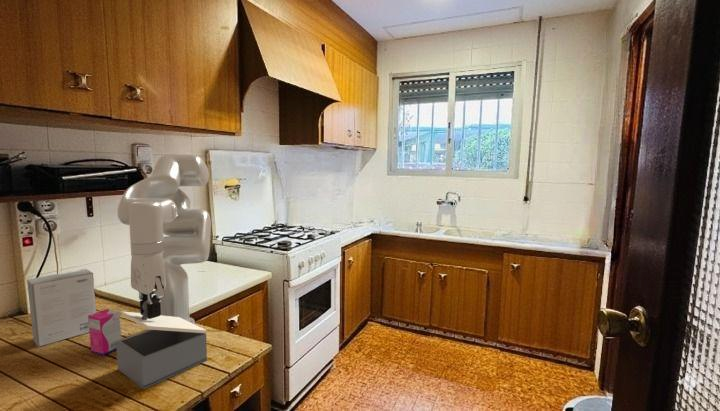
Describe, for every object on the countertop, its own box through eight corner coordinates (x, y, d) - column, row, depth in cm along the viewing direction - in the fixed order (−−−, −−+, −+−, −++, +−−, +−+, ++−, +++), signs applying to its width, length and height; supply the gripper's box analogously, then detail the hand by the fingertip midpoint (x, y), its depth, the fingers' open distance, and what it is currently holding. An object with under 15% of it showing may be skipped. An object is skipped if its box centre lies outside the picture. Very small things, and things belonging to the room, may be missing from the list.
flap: (120, 314, 98) (129, 292, 99) (178, 319, 111) (185, 300, 113) (147, 329, 89) (156, 304, 91) (206, 333, 103) (213, 312, 104)
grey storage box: (117, 369, 98) (116, 341, 97) (179, 344, 112) (178, 320, 111) (143, 389, 90) (142, 358, 89) (206, 360, 103) (206, 333, 103)
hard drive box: (91, 324, 126) (87, 268, 124) (98, 330, 121) (94, 272, 119) (31, 340, 114) (26, 278, 112) (36, 347, 109) (31, 283, 107)
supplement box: (109, 343, 112) (107, 307, 111) (122, 347, 110) (120, 311, 109) (89, 352, 107) (87, 314, 106) (102, 356, 105) (100, 318, 104)
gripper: (118, 246, 97) (122, 312, 99) (146, 255, 87) (150, 328, 89) (148, 241, 103) (151, 304, 105) (177, 250, 93) (180, 318, 95)
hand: (150, 314), depth 97 cm, fingers closed on flap, 3 cm apart
